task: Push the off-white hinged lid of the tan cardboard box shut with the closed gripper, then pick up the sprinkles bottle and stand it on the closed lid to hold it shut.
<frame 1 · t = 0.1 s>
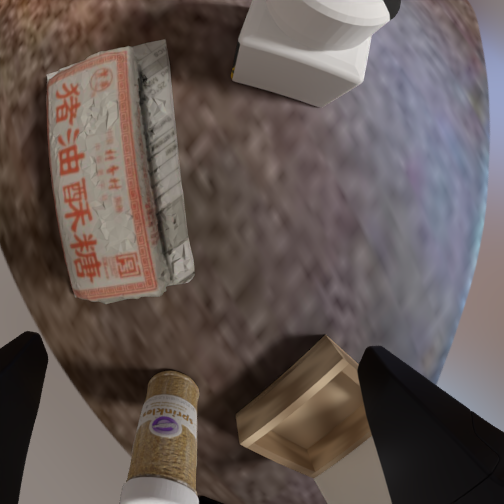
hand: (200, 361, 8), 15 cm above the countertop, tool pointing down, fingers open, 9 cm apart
sprinkles bottle: (173, 388, 25), on the countertop
medicine bottle: (287, 56, 20), on the countertop
box: (314, 402, 27), on the countertop
packaged product: (115, 168, 21), on the countertop
lid: (385, 484, 20), point 9 cm above the countertop, hinge at 105.0°
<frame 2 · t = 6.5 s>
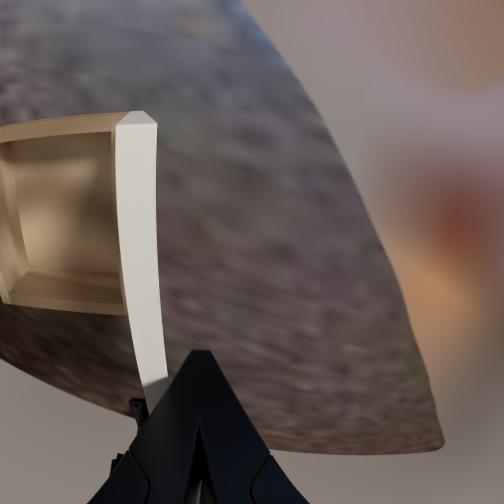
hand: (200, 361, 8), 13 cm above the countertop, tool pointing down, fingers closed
box: (72, 202, 18), on the countertop
lid: (141, 280, 11), point 9 cm above the countertop, hinge at 103.4°, touching gripper
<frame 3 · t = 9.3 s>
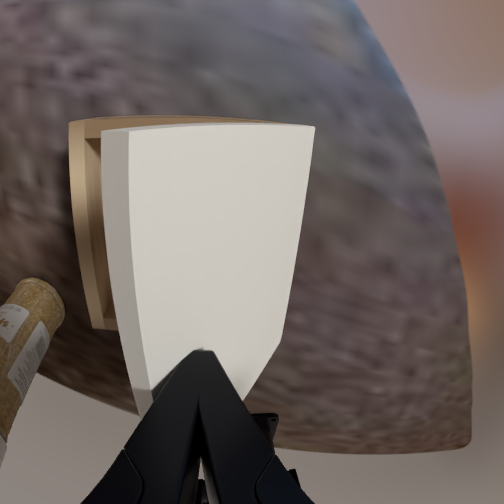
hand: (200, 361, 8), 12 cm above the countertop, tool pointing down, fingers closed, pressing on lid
sprinkles bottle: (42, 300, 19), on the countertop
box: (182, 212, 18), on the countertop
lid: (243, 300, 10), point 9 cm above the countertop, hinge at 59.1°, touching gripper
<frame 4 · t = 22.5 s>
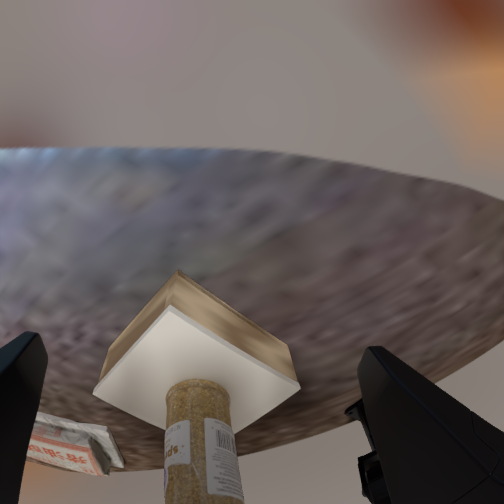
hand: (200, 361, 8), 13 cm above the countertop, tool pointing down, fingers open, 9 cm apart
sprinkles bottle: (198, 395, 20), point 5 cm above the countertop, touching lid
box: (196, 349, 24), on the countertop
packaged product: (57, 429, 31), on the countertop
lid: (193, 394, 20), point 5 cm above the countertop, hinge at 2.7°, touching sprinkles bottle
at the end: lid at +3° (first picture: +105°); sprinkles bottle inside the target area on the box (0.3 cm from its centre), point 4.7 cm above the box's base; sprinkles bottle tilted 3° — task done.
